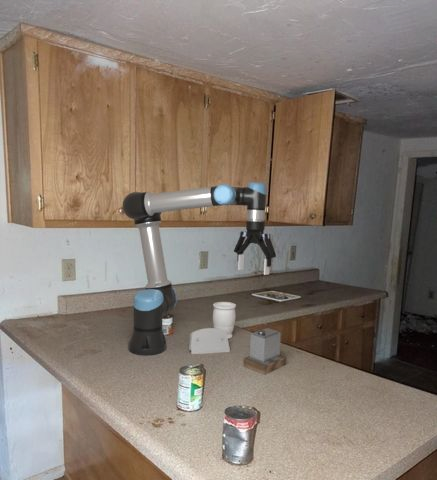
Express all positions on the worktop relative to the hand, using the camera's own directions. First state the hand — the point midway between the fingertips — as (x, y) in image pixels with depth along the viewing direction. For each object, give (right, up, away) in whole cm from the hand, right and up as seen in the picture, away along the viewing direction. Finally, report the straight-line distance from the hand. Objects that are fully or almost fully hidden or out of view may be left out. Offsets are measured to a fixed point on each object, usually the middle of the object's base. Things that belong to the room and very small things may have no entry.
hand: (253, 272), depth 158 cm
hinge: (-18, -33, 0) cm, 37 cm away
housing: (+3, -31, -14) cm, 34 cm away
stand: (+3, -34, -14) cm, 37 cm away
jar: (-12, -31, +17) cm, 38 cm away
